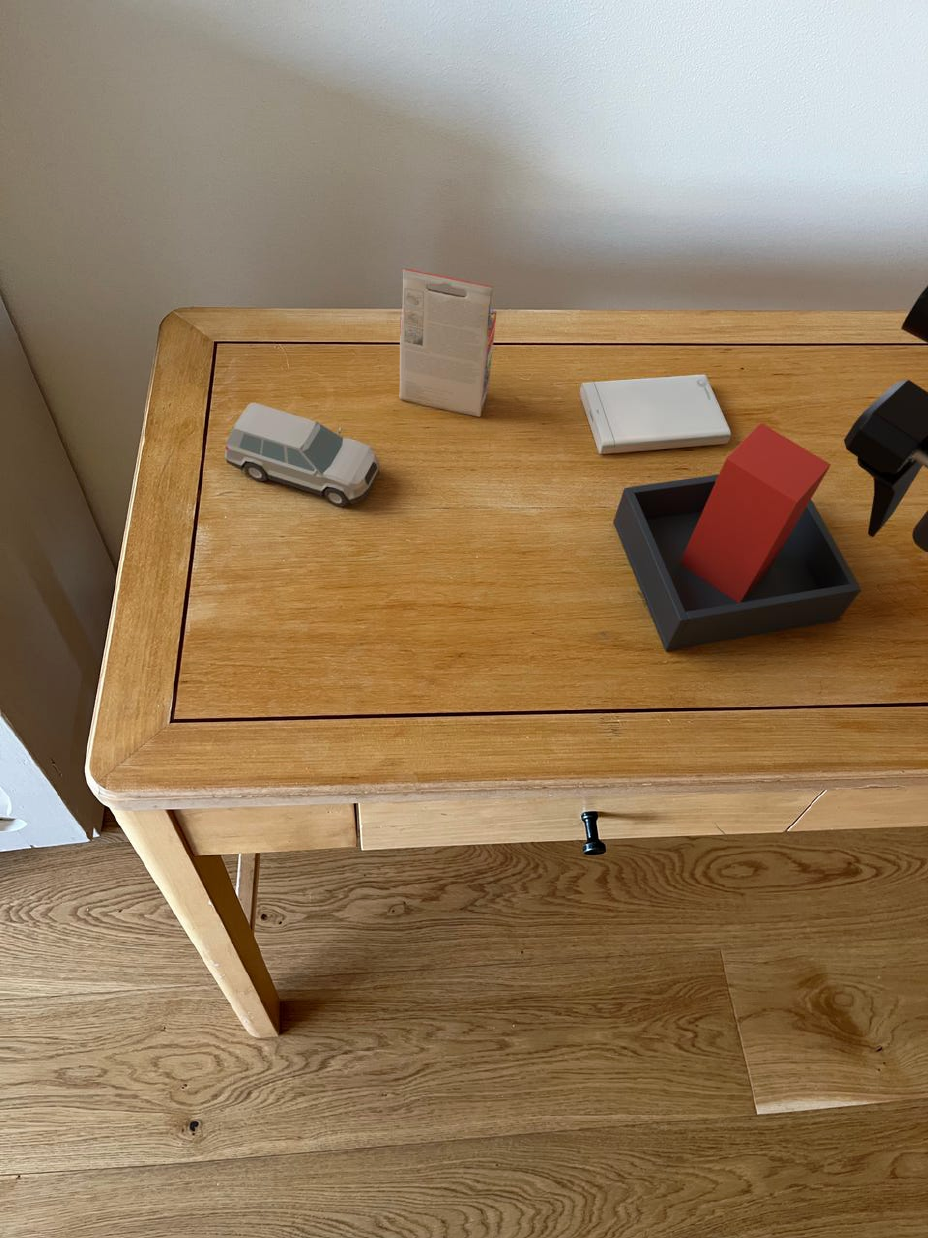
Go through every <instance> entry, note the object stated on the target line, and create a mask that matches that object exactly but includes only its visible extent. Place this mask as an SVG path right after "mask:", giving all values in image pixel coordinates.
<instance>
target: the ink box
mask: <svg viewBox="0 0 928 1238" xmlns="http://www.w3.org/2000/svg"><path fill="white" fill-rule="evenodd" d="M429 284H431V285H436V286H442V285H444V284H446V285H449V286H451V289H455V290H456V289H457V290H460V291H464V292H465V293H466V295H460V294H456V293H451V292H445V291H442V290H441V291H440V290H437V289H430V288H429V287H428V285H429ZM493 288H494V287H493V286H492V285H488V284H482V283H477V282H472V281H468V280H463V279H459V278H454V277H449V276H445V275H439V274H434V273H429V272H424V271H420V270H415V269H410V268H406V267H403V268H402V312H401V315H400V317H399V318H400V319H399V323H400V324H399V328H400V329H399V399H400V400H402V401H405V402H408V403H413V404H417V405H422V406H426V407H431V408H435V409H440V410H445V411H449V412H454V413H459V414H462V415H463V414H464V415H469V416H473V417H478V418H480V417H482V411H483V409H484V405H485V402H486V399H487V395H488V392H489V391H488V390H489V383H490V374H491V368H492V367H491V366H492V357H493V348H494V338H495V331H496V330H495V329H496V324H497V323H496V322H497V310H492V309H491V303H492V296H493Z"/></svg>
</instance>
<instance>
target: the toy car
mask: <svg viewBox="0 0 928 1238" xmlns="http://www.w3.org/2000/svg"><path fill="white" fill-rule="evenodd" d="M342 430H343V429H342V426H339V428H338V434H337V433H335V432H334V431H332V430H331V429H329V428H327V427H326V426H324V425H322V424H321V423H320V422H318V421H316V420H312V419H309V418H306V417H303V416H299V415H297V414H296V415H295V414H293V413H291V412H290V413H289V412H286V411H284V410H280V409H276V408H274V407H270V406H267V405H263V404H261V403H257V402H254V401H252V402H250V403H249V404H247V406H246V407H245V409H244V410H243V411H242V413H241V414H240V416H239V417H238V419H237V420H236V422H235V423H234V425H233V428H232V430H231V432H230V434H229V437H228V439H227V441H226V444H225V452H224V459H225V461H226V463H227V464H229V465H230V466H232V467H235V468H236V469H238V470H239V471H243V470H244V471H245V474H246V475H247V476H248V477H249V478H251V479H252V480H254V481H257V482H264V481H267V480H270V481H273V482H276V483H280V484H283V485H286V486H289V487H292V488H295V489H299V490H302V491H305V492H308V493H312V494H315V495H318V496H321V497H322V496H323V495H324V497H325V499H326V500H327V501H328V502H329V503H330V504H331V505H333V506H335V507H345V506H347V505H348V503H349V504H356V503H358V502H360V501H362V500H364V498H365V497H366V496H367V495H368V494H369V492H370V491H371V488H372V486H373V485H374V483H375V481H376V479H377V477H378V475H379V473H380V460H379V458H378V456H377V454H376V452H375V451H374V449H373V448H372V447H371V446H370V445H368V444H366V443H364V442H361V441H358V440H357V439H352V438H348V437H342Z"/></svg>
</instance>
